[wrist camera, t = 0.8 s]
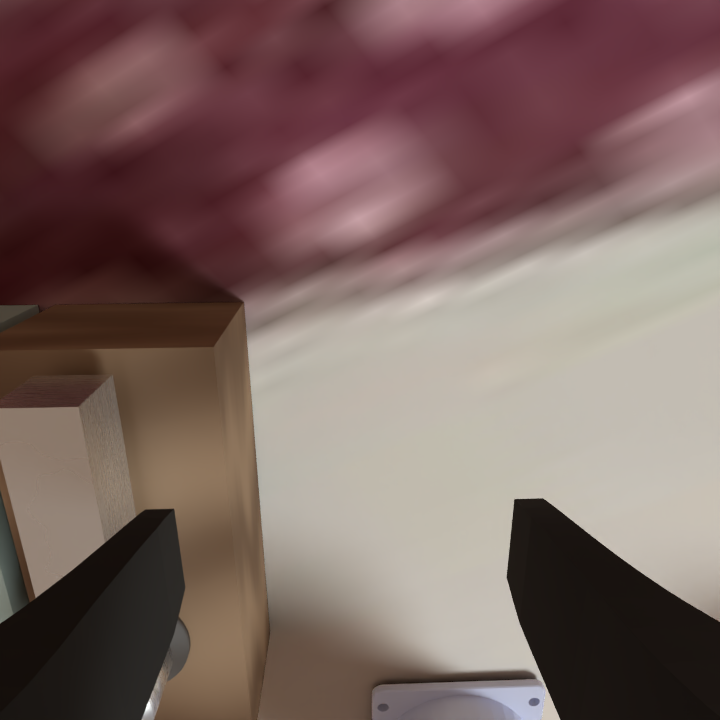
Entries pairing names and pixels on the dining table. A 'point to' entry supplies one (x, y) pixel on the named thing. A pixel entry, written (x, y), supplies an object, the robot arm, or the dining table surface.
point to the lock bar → (67, 477)
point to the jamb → (176, 472)
